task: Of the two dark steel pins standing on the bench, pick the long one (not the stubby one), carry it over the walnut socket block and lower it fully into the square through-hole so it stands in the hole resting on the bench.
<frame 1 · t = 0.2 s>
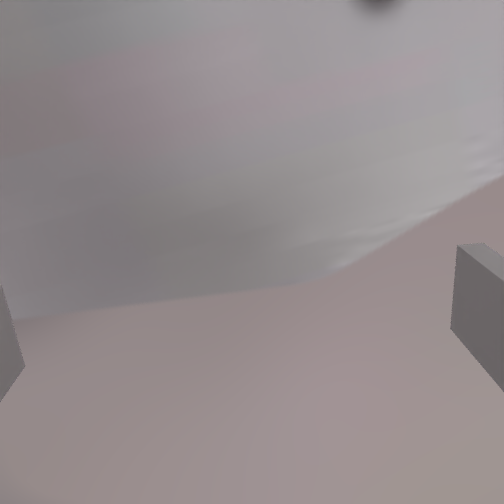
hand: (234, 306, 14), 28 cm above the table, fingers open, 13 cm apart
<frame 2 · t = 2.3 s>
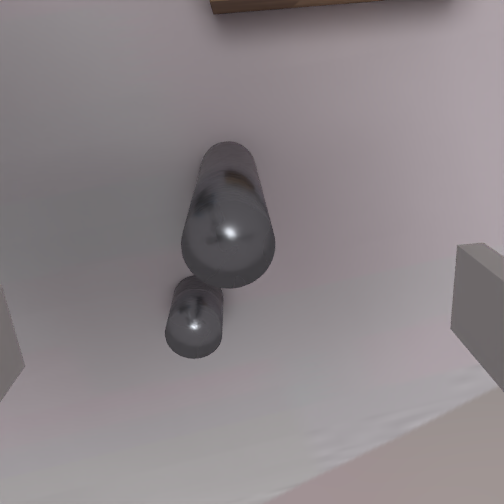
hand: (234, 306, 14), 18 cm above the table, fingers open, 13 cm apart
long pin: (228, 169, 31), on the table
short pin: (198, 297, 34), on the table
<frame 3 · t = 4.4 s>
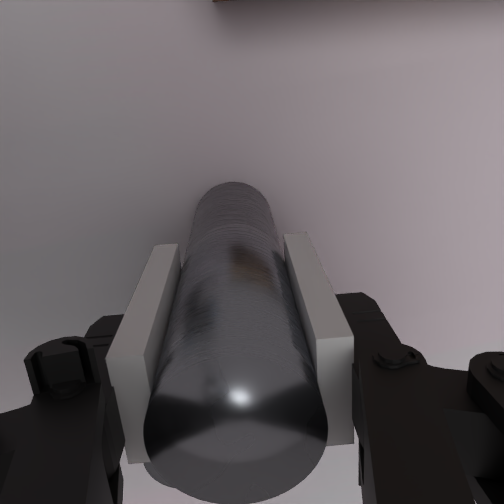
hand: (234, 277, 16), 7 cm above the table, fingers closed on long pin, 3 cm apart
long pin: (233, 219, 22), on the table, touching gripper
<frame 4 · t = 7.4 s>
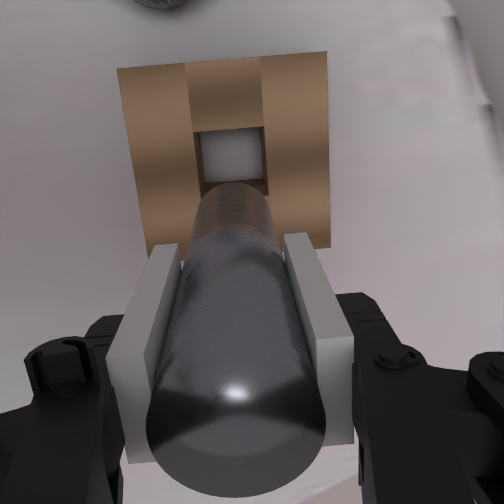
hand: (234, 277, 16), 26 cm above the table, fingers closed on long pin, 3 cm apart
long pin: (233, 219, 22), point 19 cm above the table, touching gripper
socket block: (231, 151, 40), on the table
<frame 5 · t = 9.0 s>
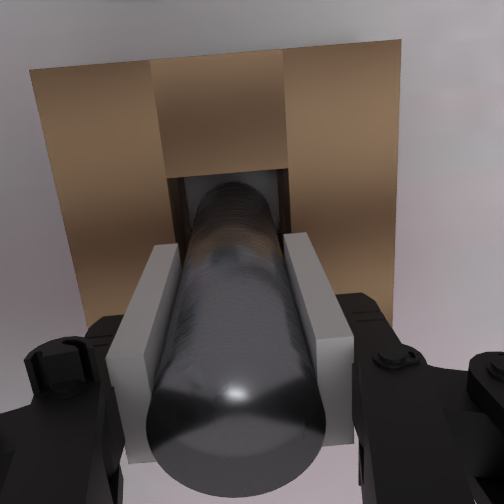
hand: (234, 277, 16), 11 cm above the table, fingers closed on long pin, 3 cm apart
long pin: (233, 219, 22), point 4 cm above the table, touching gripper
socket block: (232, 196, 26), on the table
when the fingers open (8 cm above the table, at t = 10.4 s): long pin stays where it is, resting in socket block.
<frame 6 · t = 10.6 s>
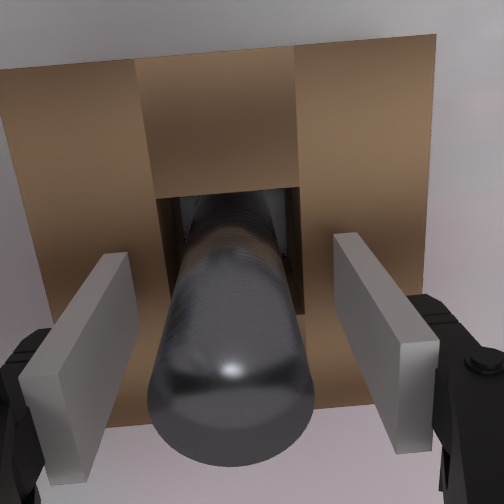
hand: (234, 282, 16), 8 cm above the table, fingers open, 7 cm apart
long pin: (232, 213, 23), resting in socket block
socket block: (233, 213, 23), on the table
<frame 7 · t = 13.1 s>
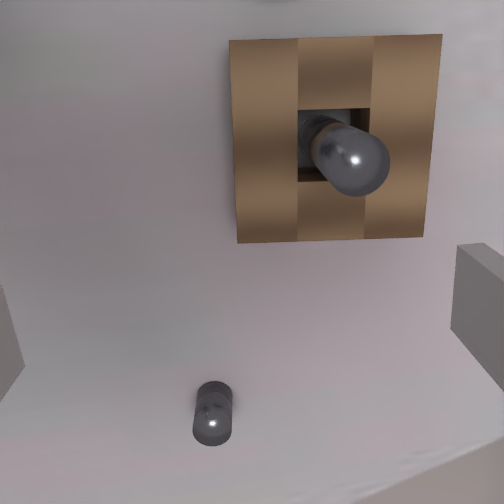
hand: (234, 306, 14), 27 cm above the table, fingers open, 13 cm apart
long pin: (319, 136, 39), resting in socket block
socket block: (319, 136, 39), on the table
short pin: (214, 396, 48), on the table
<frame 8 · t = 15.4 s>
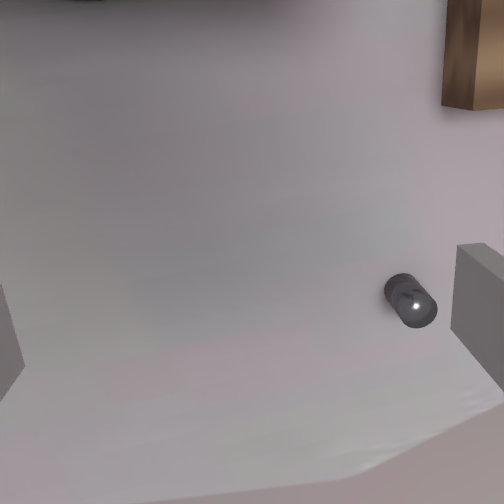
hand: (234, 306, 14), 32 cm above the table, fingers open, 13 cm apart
short pin: (401, 288, 50), on the table
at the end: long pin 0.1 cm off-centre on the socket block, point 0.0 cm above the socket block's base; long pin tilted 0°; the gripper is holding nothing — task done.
